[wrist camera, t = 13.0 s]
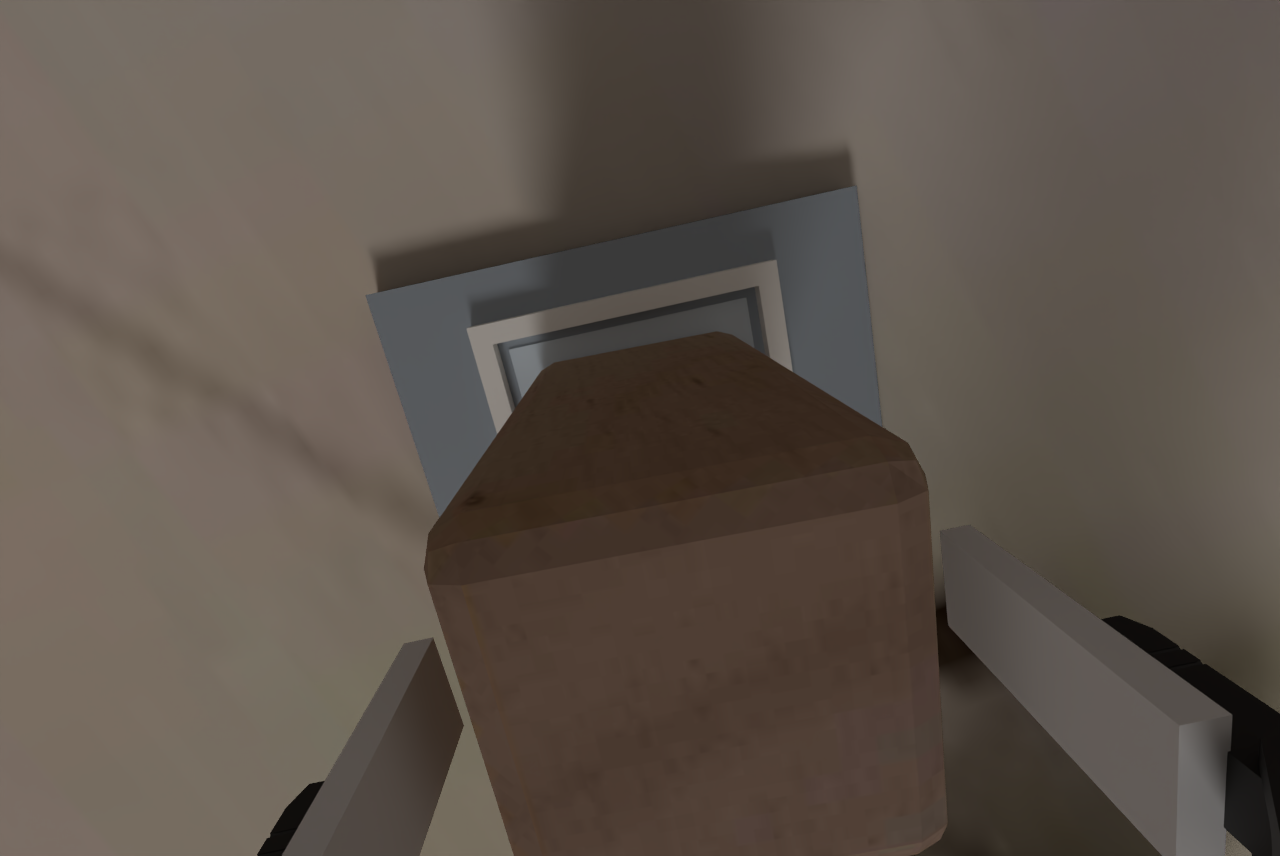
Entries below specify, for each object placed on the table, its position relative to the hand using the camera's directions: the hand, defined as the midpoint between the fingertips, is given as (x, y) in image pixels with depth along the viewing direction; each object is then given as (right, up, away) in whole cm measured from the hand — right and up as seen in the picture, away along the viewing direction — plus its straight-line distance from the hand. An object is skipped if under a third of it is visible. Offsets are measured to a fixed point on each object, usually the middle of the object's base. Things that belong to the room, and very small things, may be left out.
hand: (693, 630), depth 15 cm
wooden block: (-1, +5, +16) cm, 17 cm away
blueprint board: (-1, +5, +17) cm, 18 cm away
